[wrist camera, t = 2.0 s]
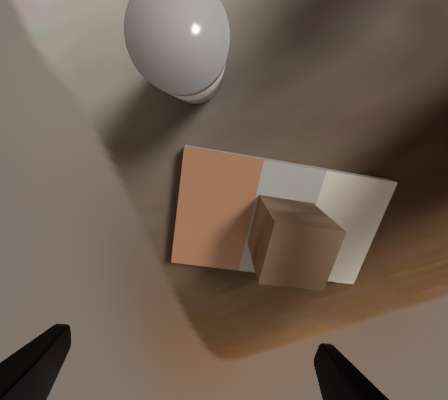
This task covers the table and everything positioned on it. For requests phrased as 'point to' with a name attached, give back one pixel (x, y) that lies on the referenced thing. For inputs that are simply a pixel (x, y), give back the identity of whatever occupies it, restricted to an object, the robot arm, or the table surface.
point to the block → (293, 244)
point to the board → (274, 187)
